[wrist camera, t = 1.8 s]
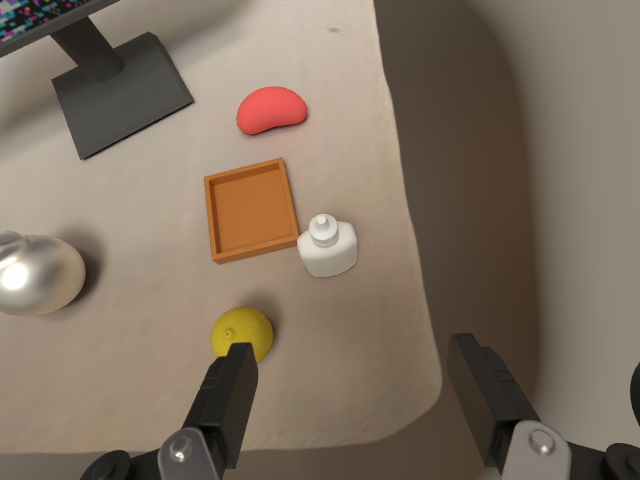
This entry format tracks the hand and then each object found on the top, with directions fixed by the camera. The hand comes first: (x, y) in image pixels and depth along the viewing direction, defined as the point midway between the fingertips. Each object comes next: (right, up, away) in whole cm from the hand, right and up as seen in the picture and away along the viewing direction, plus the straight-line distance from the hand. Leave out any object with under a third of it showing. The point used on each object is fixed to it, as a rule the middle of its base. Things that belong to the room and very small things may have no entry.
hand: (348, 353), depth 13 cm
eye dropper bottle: (0, +2, +23) cm, 23 cm away
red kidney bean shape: (-7, +21, +31) cm, 38 cm away
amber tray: (-9, +8, +26) cm, 29 cm away
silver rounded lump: (-32, -1, +26) cm, 41 cm away
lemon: (-8, -6, +21) cm, 24 cm away
